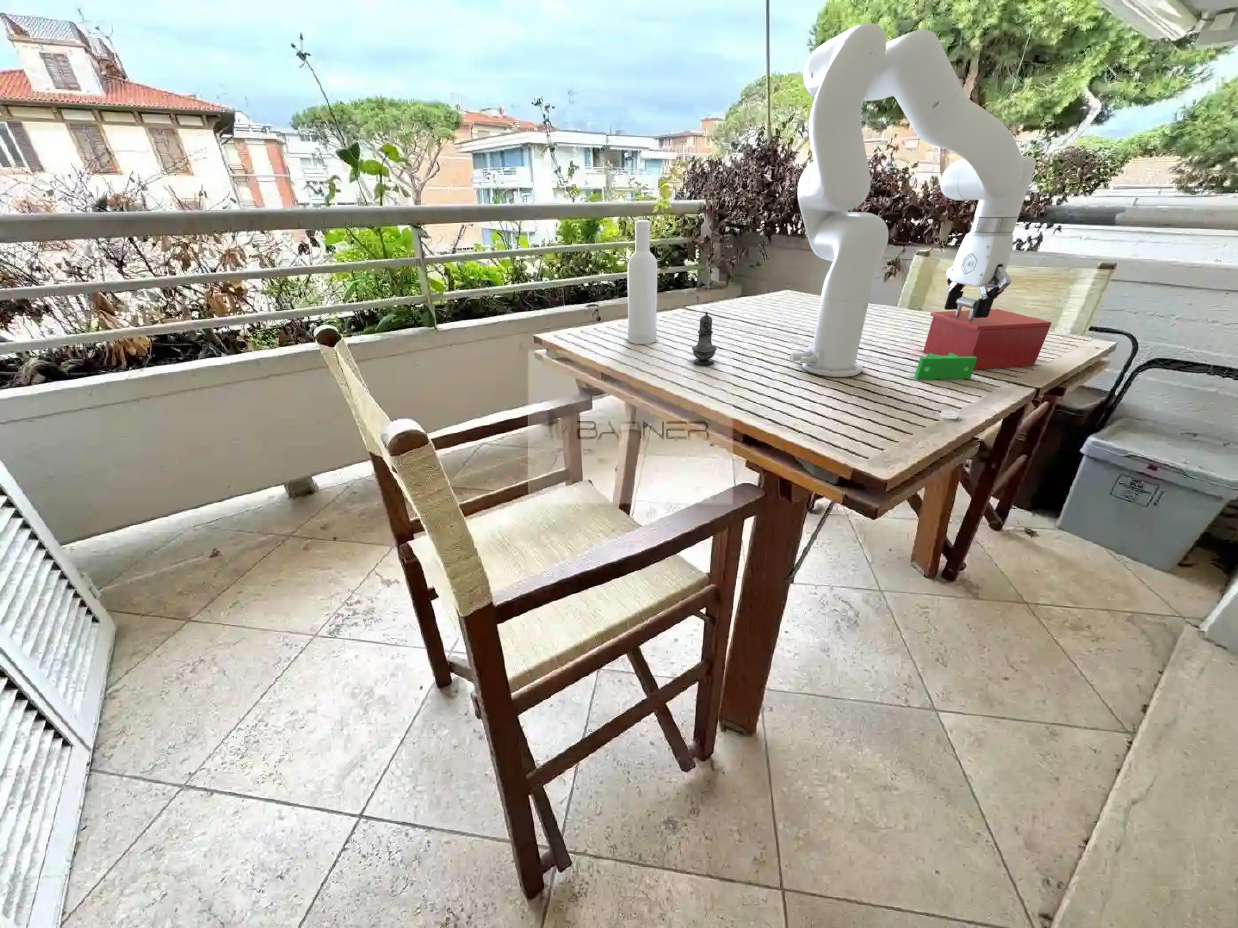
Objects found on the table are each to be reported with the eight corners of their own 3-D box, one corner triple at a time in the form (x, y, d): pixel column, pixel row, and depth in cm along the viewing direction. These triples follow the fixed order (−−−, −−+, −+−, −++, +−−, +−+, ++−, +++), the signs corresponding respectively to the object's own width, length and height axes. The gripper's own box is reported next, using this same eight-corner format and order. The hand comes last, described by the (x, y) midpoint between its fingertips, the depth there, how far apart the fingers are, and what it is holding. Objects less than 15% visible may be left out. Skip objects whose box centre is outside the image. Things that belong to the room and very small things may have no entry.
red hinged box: (967, 370, 107) (980, 330, 103) (922, 351, 120) (933, 315, 116) (1034, 365, 109) (1050, 326, 105) (983, 348, 122) (996, 312, 117)
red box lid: (976, 330, 103) (985, 305, 100) (929, 315, 116) (936, 293, 113) (1050, 326, 105) (1060, 301, 102) (996, 312, 117) (1004, 290, 115)
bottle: (622, 341, 134) (620, 221, 120) (639, 335, 140) (639, 219, 125) (644, 346, 130) (645, 221, 115) (662, 339, 135) (664, 220, 120)
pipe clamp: (959, 373, 106) (966, 352, 104) (970, 379, 102) (977, 358, 100) (908, 373, 106) (914, 353, 104) (916, 379, 103) (923, 358, 100)
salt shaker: (688, 365, 114) (690, 313, 109) (694, 358, 119) (697, 308, 113) (712, 367, 112) (716, 315, 107) (718, 360, 117) (722, 309, 111)
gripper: (945, 225, 107) (923, 306, 116) (1011, 230, 92) (979, 322, 101) (976, 224, 108) (952, 305, 117) (1046, 228, 93) (1012, 321, 101)
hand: (965, 313), depth 109 cm, fingers open, 8 cm apart
